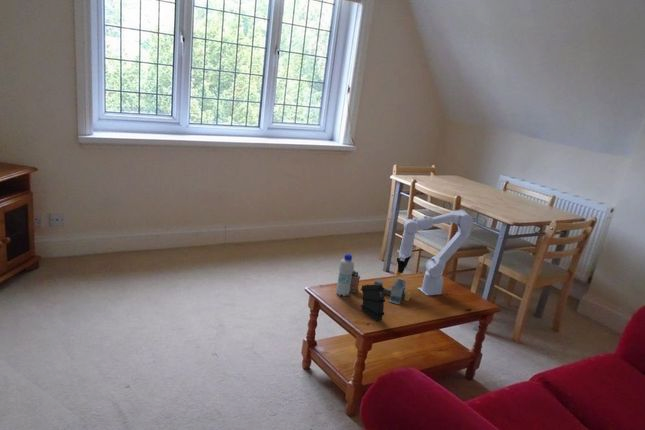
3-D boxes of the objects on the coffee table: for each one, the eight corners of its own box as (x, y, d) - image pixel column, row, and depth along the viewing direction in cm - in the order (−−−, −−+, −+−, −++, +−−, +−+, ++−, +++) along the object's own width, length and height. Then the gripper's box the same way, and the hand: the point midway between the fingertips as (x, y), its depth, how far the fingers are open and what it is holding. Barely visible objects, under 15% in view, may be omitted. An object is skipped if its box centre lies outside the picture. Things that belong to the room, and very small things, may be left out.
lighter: (358, 289, 232) (361, 270, 229) (357, 292, 229) (361, 273, 226) (341, 286, 233) (344, 267, 230) (340, 289, 230) (344, 270, 227)
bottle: (351, 297, 223) (357, 257, 217) (337, 297, 221) (343, 257, 215) (347, 291, 229) (353, 251, 223) (333, 290, 227) (339, 251, 221)
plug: (409, 298, 230) (411, 288, 228) (408, 301, 227) (410, 291, 225) (374, 289, 235) (376, 278, 234) (372, 291, 232) (374, 281, 231)
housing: (405, 291, 237) (408, 278, 235) (398, 304, 222) (401, 291, 220) (395, 289, 238) (397, 276, 236) (388, 301, 224) (390, 288, 222)
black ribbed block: (381, 321, 201) (377, 285, 202) (362, 320, 212) (357, 285, 213) (388, 320, 203) (383, 284, 205) (368, 318, 214) (364, 284, 215)
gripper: (401, 237, 241) (397, 263, 245) (395, 246, 227) (390, 272, 231) (415, 241, 238) (410, 266, 242) (410, 250, 225) (405, 276, 229)
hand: (402, 269), depth 237 cm, fingers open, 7 cm apart
